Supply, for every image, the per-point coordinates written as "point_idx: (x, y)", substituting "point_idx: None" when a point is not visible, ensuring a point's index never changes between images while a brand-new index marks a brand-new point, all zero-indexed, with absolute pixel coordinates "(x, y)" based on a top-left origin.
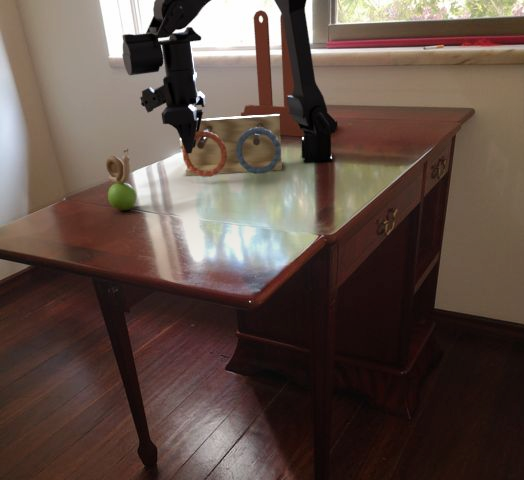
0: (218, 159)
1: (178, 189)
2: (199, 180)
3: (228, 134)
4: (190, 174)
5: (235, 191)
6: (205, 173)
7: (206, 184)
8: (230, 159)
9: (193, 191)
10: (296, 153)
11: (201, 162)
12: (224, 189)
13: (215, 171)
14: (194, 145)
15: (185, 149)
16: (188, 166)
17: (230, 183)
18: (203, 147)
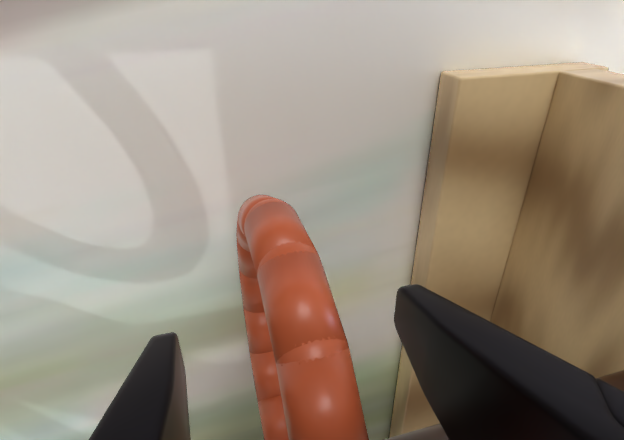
0: (525, 264)
1: (122, 86)
2: (318, 183)
3: None
4: (438, 102)
5: (101, 406)
6: (241, 285)
7: (231, 244)
8: (507, 314)
9: (81, 207)
10: None
11: (545, 166)
12: (134, 354)
13: (249, 342)
14: (401, 339)
15: (135, 372)
16: (240, 213)
17: (238, 349)
18: (618, 233)
